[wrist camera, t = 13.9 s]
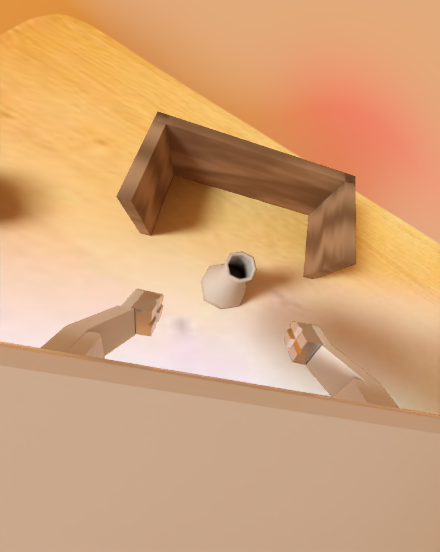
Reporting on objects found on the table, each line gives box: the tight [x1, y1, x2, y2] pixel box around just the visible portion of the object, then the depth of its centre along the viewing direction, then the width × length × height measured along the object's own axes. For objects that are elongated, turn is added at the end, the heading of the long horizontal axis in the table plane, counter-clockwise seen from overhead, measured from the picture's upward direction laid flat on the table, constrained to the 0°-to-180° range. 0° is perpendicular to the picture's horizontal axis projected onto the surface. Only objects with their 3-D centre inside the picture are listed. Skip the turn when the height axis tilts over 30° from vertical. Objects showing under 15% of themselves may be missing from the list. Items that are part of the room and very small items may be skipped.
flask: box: [201, 252, 257, 309], centre depth 21 cm, size 7×7×10 cm
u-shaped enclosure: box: [116, 112, 356, 279], centre depth 25 cm, size 14×29×8 cm, turn 77°
